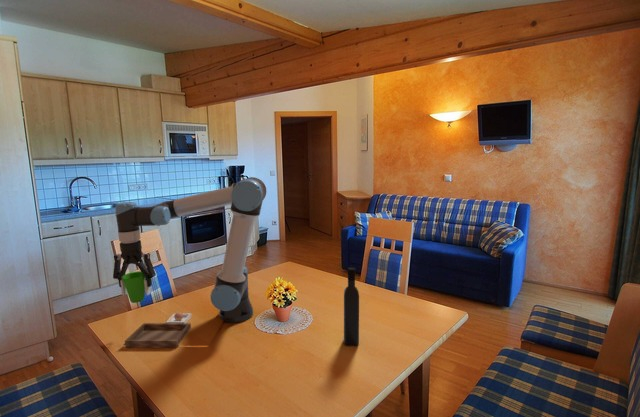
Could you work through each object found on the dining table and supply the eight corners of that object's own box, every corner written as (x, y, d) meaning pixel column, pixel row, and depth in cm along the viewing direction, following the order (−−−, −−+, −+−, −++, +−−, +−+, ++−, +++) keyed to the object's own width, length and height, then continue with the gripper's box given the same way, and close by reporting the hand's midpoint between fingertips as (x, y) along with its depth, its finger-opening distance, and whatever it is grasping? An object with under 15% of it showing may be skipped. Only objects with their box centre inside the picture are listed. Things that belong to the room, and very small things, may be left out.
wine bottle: (357, 338, 139) (358, 266, 134) (359, 346, 133) (359, 271, 128) (343, 338, 139) (343, 266, 134) (344, 346, 133) (344, 271, 128)
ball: (184, 318, 156) (184, 310, 155) (181, 322, 152) (180, 314, 152) (176, 318, 156) (176, 310, 155) (173, 322, 152) (172, 314, 152)
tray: (191, 329, 147) (190, 323, 147) (177, 347, 133) (176, 340, 133) (144, 329, 148) (143, 323, 147) (125, 347, 134) (124, 340, 133)
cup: (139, 305, 138) (135, 279, 136) (119, 304, 140) (116, 278, 138) (154, 296, 146) (151, 271, 144) (136, 295, 148) (132, 270, 147)
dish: (191, 317, 158) (191, 313, 158) (184, 325, 150) (184, 321, 150) (174, 317, 158) (173, 313, 158) (166, 325, 150) (165, 322, 150)
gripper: (161, 238, 142) (167, 290, 146) (109, 239, 143) (116, 291, 147) (152, 242, 135) (158, 297, 138) (97, 244, 136) (105, 298, 139)
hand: (136, 294), depth 142 cm, fingers closed on cup, 9 cm apart
